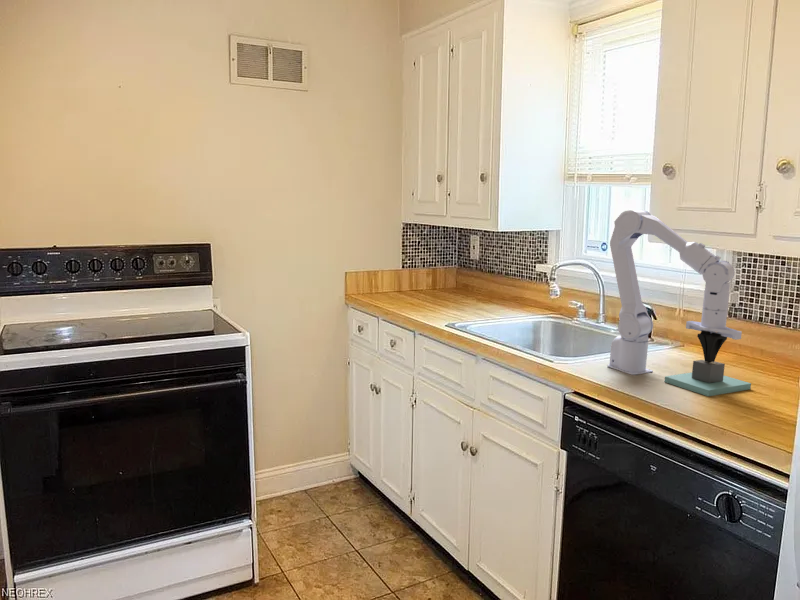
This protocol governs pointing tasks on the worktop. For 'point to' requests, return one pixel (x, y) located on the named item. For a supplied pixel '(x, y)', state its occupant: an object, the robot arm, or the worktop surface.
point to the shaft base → (707, 384)
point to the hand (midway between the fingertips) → (709, 361)
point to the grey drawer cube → (708, 371)
